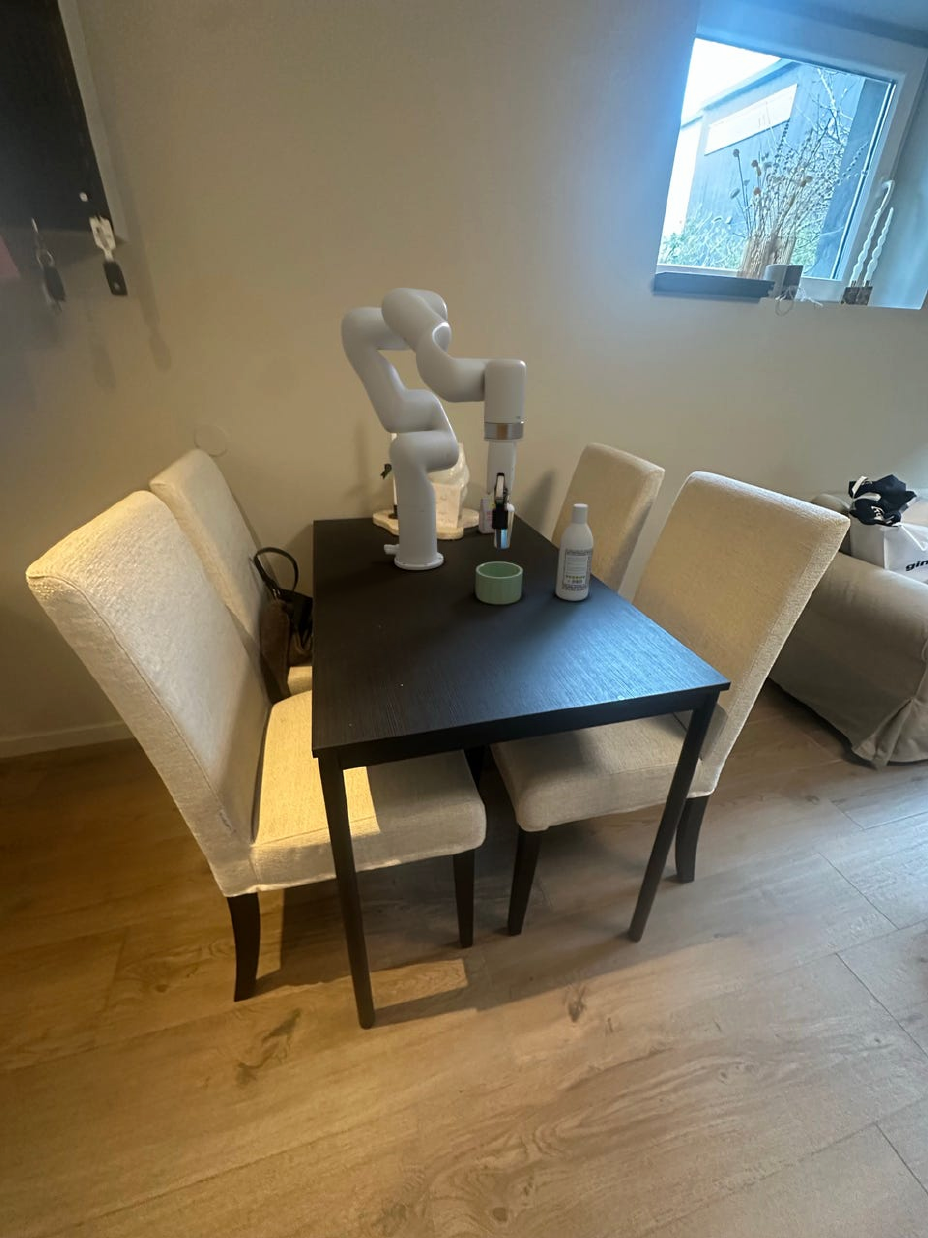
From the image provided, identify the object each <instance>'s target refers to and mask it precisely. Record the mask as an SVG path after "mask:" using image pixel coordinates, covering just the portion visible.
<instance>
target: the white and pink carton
mask: <svg viewBox="0 0 928 1238" xmlns="http://www.w3.org/2000/svg"><path fill="white" fill-rule="evenodd" d="M488 499H489V500H488ZM493 500H494V497H489V498H481V499H480V504H479V509H478V531H479V532H480V533H482V534H491V533H493V534H494V530H493V529H492V508H493ZM489 501H490V502H489ZM490 504H491V505H490ZM491 506H492V507H491Z"/></svg>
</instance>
